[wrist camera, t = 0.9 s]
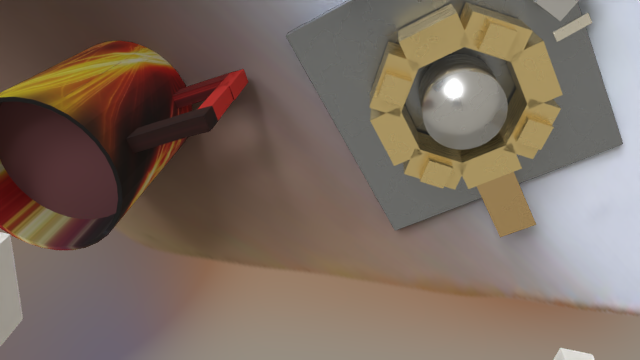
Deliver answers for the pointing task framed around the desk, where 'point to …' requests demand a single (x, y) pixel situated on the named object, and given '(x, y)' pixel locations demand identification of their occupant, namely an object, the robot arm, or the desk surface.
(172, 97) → the mug
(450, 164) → the octagonal block ring
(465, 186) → the grey base plate
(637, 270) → the desk surface
